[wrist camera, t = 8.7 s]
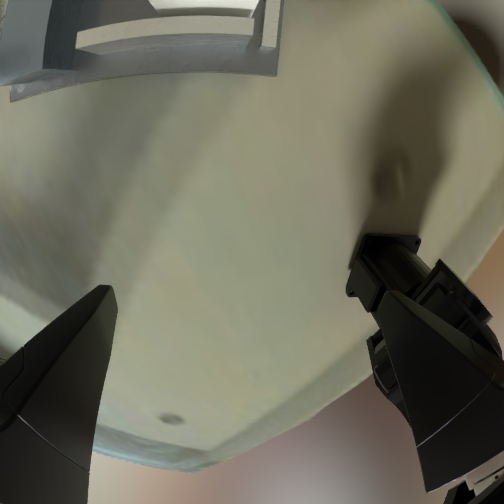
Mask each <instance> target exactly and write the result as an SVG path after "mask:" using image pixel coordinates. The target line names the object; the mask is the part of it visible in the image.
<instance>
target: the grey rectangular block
mask: <svg viewBox="0 0 504 504" xmlns="http://www.w3.org/2000/svg"><path fill="white" fill-rule="evenodd" d="M149 2H150V3H151V4H152V6H153V7H154V8H155V9H156V11H157V12H158V13H159V15H160V16H161V17H175V16H232V17H246V18H251V17H252V14H253V12H254V10H255V8H256V6H257V4H258V2H259V0H149Z"/></svg>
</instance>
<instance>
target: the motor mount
mask: <svg viewBox="0 0 504 504" xmlns="http://www.w3.org/2000/svg"><path fill="white" fill-rule="evenodd" d="M283 6H284V0H259V2H258V4H257V6H256V8H255V10H254V12H253V14H252V17H251V18H246V17H232V16H175V17H161V16H160V15H159V13H158V12H157V11H156V9H155V8H154V7H153V6H152V4H151V3H150V2H149V0H9V1H8V4H7V8H6V12H5V16H4V17H3V18H2V21H1V24H0V30H1V37H0V86H7V85H10V103H11V102H16V101H19V100H22V99H25V98H28V97H31V96H34V95H38V94H41V93H44V92H48V91H52V90H56V89H60V88H64V87H68V86H72V85H77V84H82V83H87V82H92V81H98V80H104V79H111V78H118V77H126V76H134V75H145V74H158V73H179V72H216V73H238V74H251V75H262V76H271V77H275V76H277V67H278V57H279V47H280V37H281V27H282V17H283Z"/></svg>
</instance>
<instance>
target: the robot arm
mask: <svg viewBox="0 0 504 504" xmlns="http://www.w3.org/2000/svg"><path fill="white" fill-rule="evenodd" d="M369 238H370V240H369V241H367V240H368V239H369ZM420 243H421V239H420V238H419V237H418V236H411V235H394V234H375V233H367V234H366V235H364V237H363V239H362V243H361V246H360V249H359V252H358V256H357V258H356V260H355V263H354V266H353V269H352V272H351V275H350V278H349V283H348V286H347V289H346V294H347V296H348V297H358V298H359V300H360V301H361V303H362V305H363V306H364V308H365V310H366V311H367V312H368V313H369V312H371V314H372V316H373V317H374V319H375V321H376V322H377V324H378V326H379V328H380V329H379V330H378V331H377V332H376V333H375V334H374V335H373V336H370V337H369V338H368V339H367V340H366V341H367V346H368V350H369V355H370V360H371V365H372V370H373V375H374V379H375V383H376V386H377V387H378V388H379V389H380V391H382V393H383V394H384V395H385V396H386V398H387V399H389V400H390V401H391V402H392V403H393V404H394V405H395V406H396V407H397V408H398V409H399V410H400V411H401V413H402V414H403V416H404V417H405V418H406V420H407V422H408V423H409V425H410V427H411V428H412V432H413V435H414V439H415V443H416V446H417V452H418V456H419V460H420V466H421V470H422V475H423V480H424V485H425V490H426V493H429V492H431V491H434V490H436V489H438V488H440V487H442V486H444V485H446V484H448V483H451V482H452V481H454V480H456V479H458V478H460V477H462V476H464V478H465V480H463V481H462V482H460V483H459V484H457V485H456V486H454V487H453V488H451V489H450V490H448V493H447V496H446V498H445V501H444V503H443V504H504V360H503V359H502V350H501V347H500V344H499V342H498V339H497V337H496V335H495V334H494V332H493V331H492V330H491V328H490V327H489V326H488V325H487V323H488V322H489V321H490V320H491V318H493V316H492V315H491V314H490V312H489V311H488V310H487V309H486V307H485V306H484V305H483V303H482V302H481V301H480V300H479V298H478V297H477V296H476V295H475V294H474V293H473V292H472V290H471V289H470V288H469V287H468V286H467V285H466V284H465V283H464V282H463V281H462V280H461V279H460V278H459V277H458V276H457V275H456V274H455V273H454V272H453V271H452V270H451V269H450V268H449V267H448V266H447V265H446V264H445V263H444V262H443V261H442V260H441V259H439V260H438V261H437V263H436V266H435V267H434V268H433V269H432V270H431V269H430V268H429V267H428V266H427V265H426V264H425V263H424V262H423V261H422V260H421V259H420V258H419V257H418V256H417V255H416V254H417V251H418V249H419V246H420ZM351 291H352V292H351ZM117 313H118V307H117V302H116V298H115V294H114V290H113V287H112V286H111V285H99V286H97V287H96V288H94V289H93V290H92V291H90V292H89V293H88V294H86V295H85V296H84V297H83V298H81V299H80V300H79V301H77V302H76V303H75V304H74V305H72V306H71V307H70V308H68V309H67V310H66V311H65V312H63V313H62V314H61V315H60V316H58V317H57V318H56V319H55V320H53V321H52V322H51V323H50V324H49V325H47V326H46V327H45V328H44V329H43V330H41V331H40V332H39V333H38V334H37V335H35V336H34V337H33V338H32V339H31V340H29V341H28V342H27V343H26V344H25V345H24V347H21V348H20V349H19V350H18V351H17V352H16V353H14V354H13V355H12V356H11V357H10V358H9V359H7V360H6V361H5V362H4V363H3V364H1V365H0V504H87V501H88V485H89V474H90V473H89V471H90V463H91V455H92V447H93V440H94V434H95V427H96V421H97V416H98V410H99V405H100V400H101V395H102V391H103V386H104V381H105V377H106V373H107V369H108V364H109V360H110V356H111V350H112V344H113V337H114V330H115V324H116V318H117Z"/></svg>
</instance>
